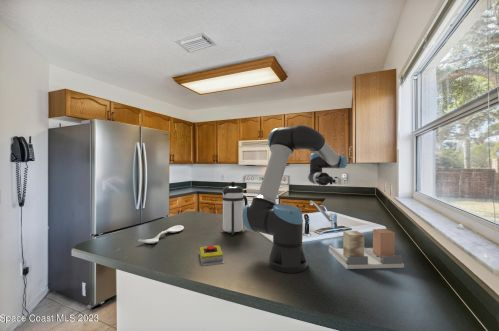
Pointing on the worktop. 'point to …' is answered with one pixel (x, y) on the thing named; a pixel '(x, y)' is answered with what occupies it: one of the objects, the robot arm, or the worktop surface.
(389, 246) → the terracotta slider
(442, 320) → the worktop surface
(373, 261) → the base
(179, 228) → the spoon
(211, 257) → the emergency button
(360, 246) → the maple slider
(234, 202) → the coffee press
